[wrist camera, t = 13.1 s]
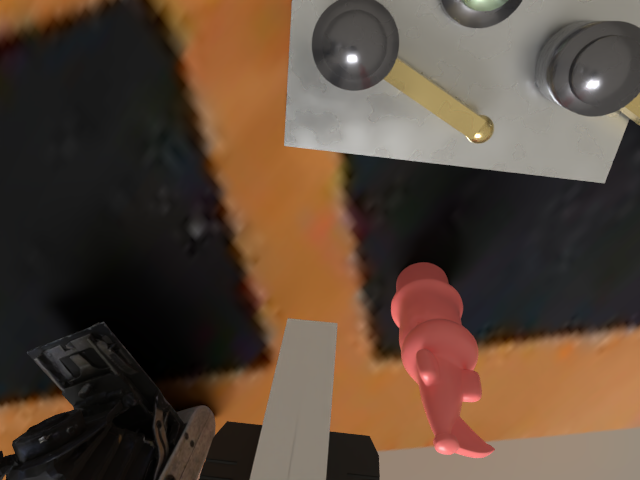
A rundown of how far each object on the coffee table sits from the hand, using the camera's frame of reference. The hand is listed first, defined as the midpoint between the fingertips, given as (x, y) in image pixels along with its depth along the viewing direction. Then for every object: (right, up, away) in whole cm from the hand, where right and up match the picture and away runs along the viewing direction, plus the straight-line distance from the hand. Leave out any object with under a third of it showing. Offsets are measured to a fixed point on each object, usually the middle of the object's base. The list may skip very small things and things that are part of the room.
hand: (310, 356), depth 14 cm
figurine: (+8, 0, +21) cm, 22 cm away
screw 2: (+17, +12, +11) cm, 24 cm away
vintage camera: (-17, -9, +29) cm, 34 cm away
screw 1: (+5, +13, +12) cm, 19 cm away
